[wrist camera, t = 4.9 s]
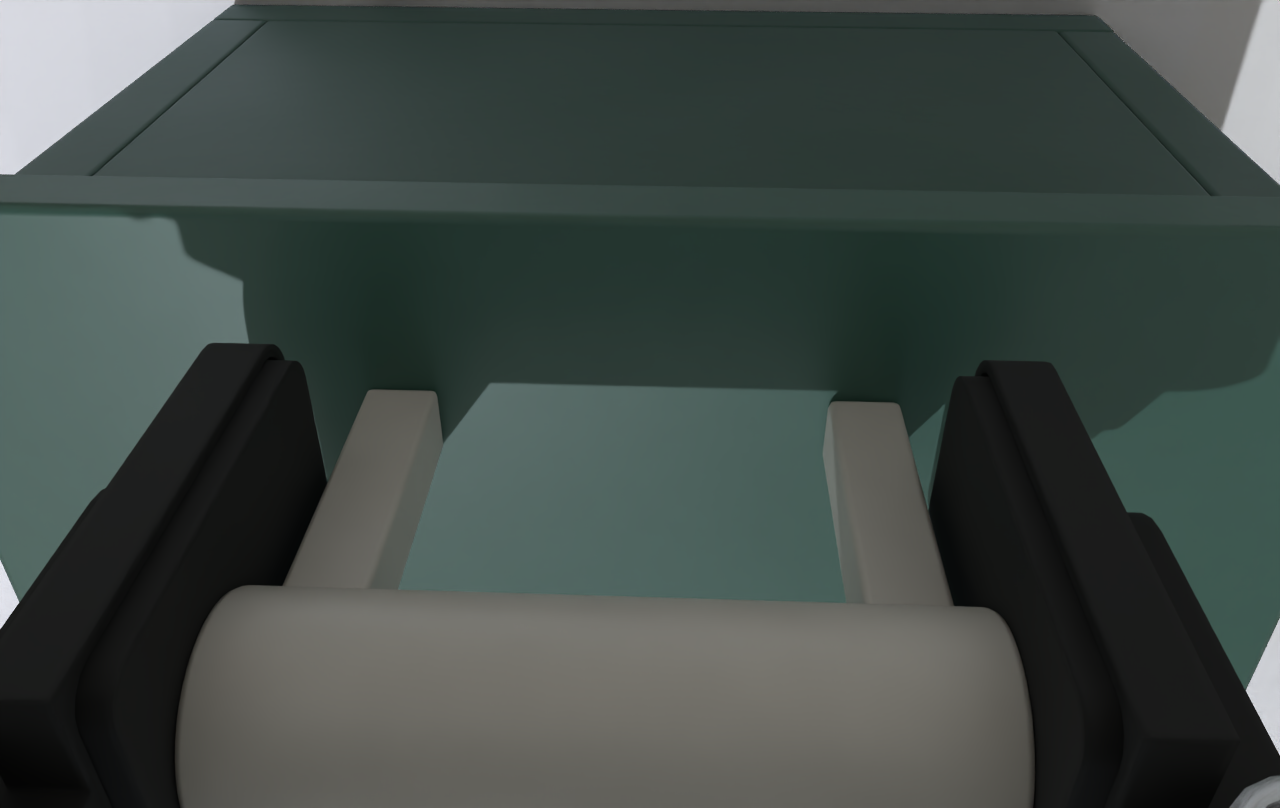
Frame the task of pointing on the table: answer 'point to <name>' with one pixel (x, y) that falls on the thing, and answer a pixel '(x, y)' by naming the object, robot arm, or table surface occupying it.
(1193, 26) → the table surface
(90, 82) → the table surface
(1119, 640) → the robot arm
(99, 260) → the box lid
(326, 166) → the green lidded box
